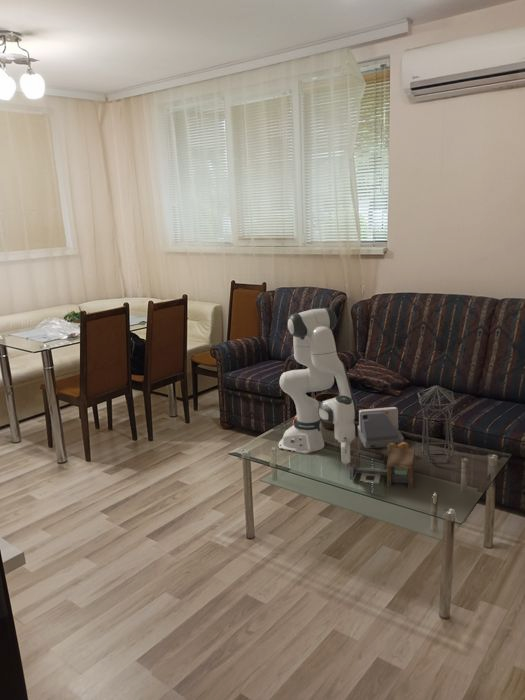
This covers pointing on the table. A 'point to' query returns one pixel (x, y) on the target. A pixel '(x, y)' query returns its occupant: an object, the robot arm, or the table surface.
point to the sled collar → (373, 471)
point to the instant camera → (379, 427)
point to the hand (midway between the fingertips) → (345, 463)
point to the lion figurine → (397, 446)
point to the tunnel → (400, 462)
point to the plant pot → (320, 399)
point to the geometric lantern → (441, 390)
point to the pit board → (370, 477)
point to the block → (401, 471)
